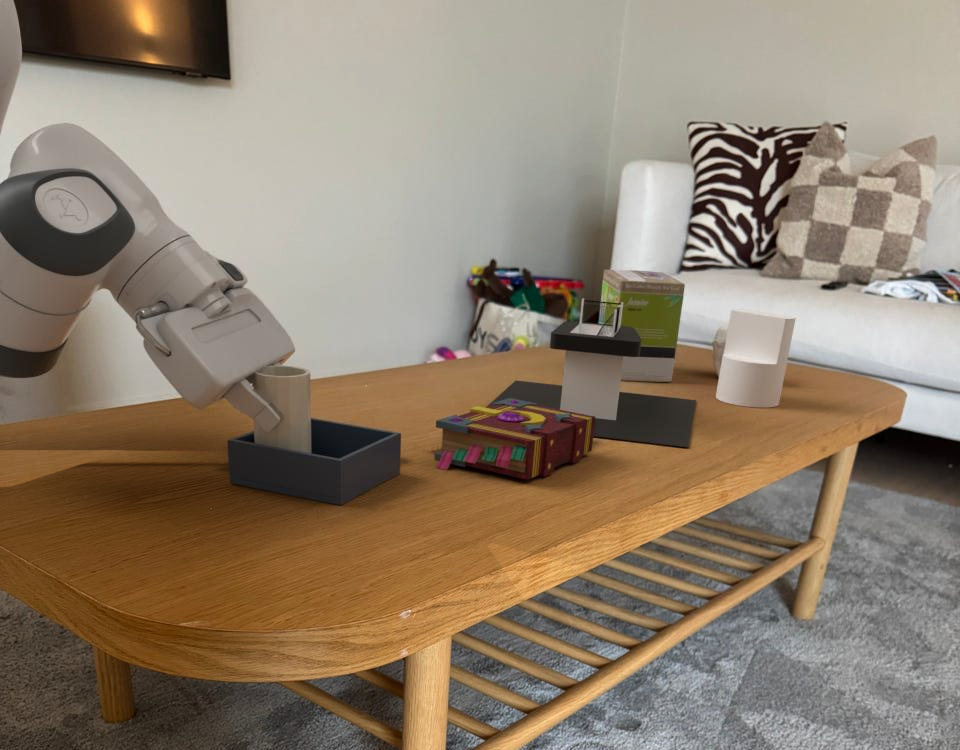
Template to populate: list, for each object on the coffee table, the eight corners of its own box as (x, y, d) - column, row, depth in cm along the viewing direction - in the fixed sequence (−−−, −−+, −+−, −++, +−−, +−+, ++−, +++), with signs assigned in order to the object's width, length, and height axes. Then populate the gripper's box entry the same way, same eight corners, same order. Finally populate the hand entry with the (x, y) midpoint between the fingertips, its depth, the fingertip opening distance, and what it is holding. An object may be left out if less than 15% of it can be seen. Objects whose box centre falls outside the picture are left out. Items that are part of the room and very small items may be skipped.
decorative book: (594, 455, 106) (599, 410, 104) (523, 488, 93) (527, 437, 91) (505, 436, 111) (508, 393, 109) (427, 465, 98) (429, 416, 96)
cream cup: (256, 475, 88) (252, 376, 84) (254, 459, 93) (250, 364, 89) (313, 475, 89) (312, 377, 85) (309, 459, 94) (307, 365, 90)
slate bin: (340, 505, 85) (340, 460, 83) (229, 483, 89) (226, 439, 87) (400, 473, 95) (401, 432, 93) (297, 454, 99) (296, 415, 97)
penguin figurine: (729, 316, 155) (800, 334, 149) (715, 369, 159) (784, 388, 154) (714, 319, 150) (787, 338, 145) (700, 373, 154) (771, 393, 149)
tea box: (592, 362, 159) (602, 267, 153) (651, 365, 160) (664, 271, 154) (608, 380, 146) (620, 277, 139) (673, 383, 147) (688, 281, 140)
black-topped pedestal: (688, 448, 111) (707, 329, 105) (469, 422, 116) (476, 307, 110) (695, 401, 136) (711, 302, 130) (515, 381, 141) (522, 285, 135)
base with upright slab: (790, 402, 139) (807, 316, 134) (759, 410, 133) (776, 320, 128) (735, 391, 145) (750, 307, 139) (703, 397, 139) (718, 311, 133)
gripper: (148, 284, 75) (273, 421, 78) (243, 264, 93) (341, 375, 96) (101, 338, 77) (224, 468, 81) (202, 308, 96) (299, 415, 99)
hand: (288, 417), depth 89 cm, fingers closed on cream cup, 5 cm apart
